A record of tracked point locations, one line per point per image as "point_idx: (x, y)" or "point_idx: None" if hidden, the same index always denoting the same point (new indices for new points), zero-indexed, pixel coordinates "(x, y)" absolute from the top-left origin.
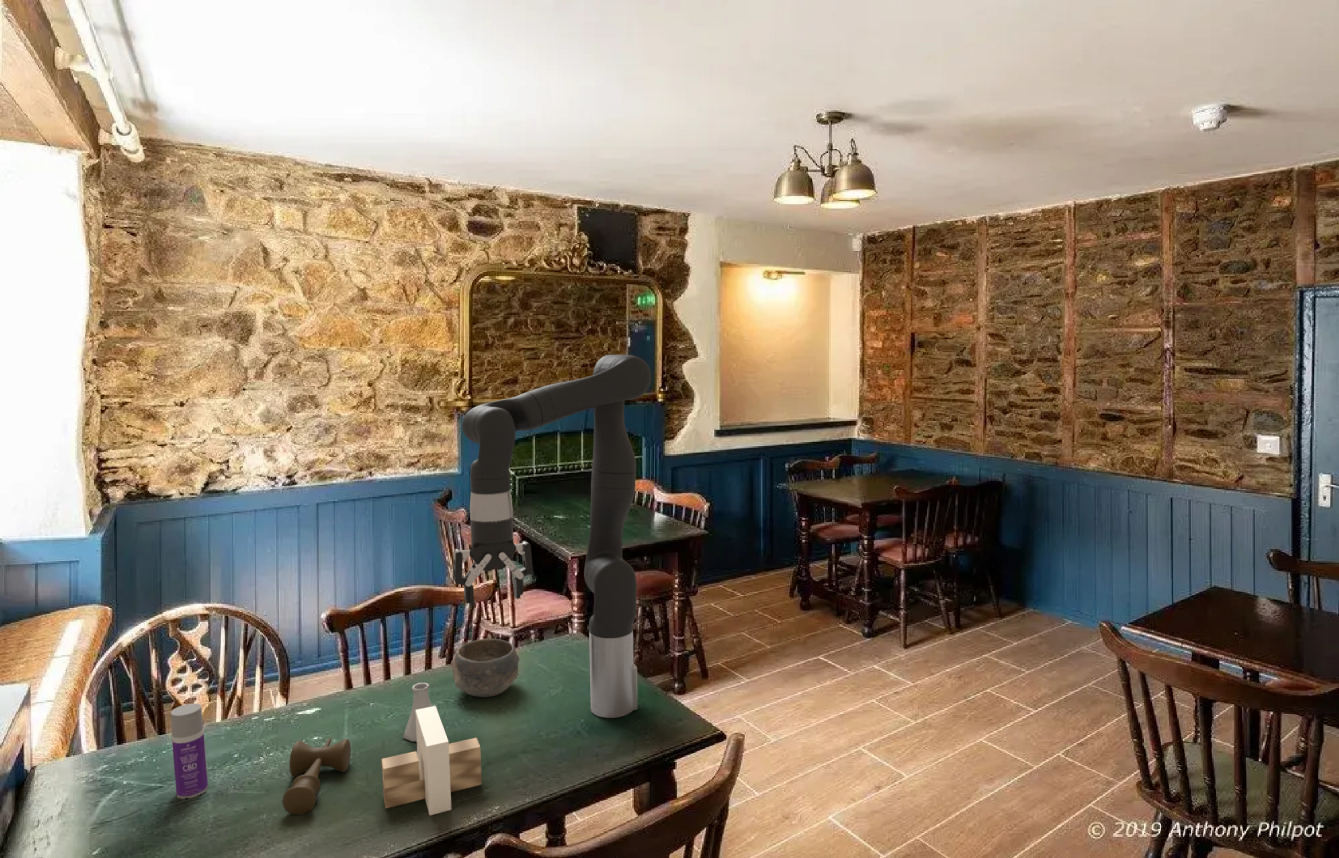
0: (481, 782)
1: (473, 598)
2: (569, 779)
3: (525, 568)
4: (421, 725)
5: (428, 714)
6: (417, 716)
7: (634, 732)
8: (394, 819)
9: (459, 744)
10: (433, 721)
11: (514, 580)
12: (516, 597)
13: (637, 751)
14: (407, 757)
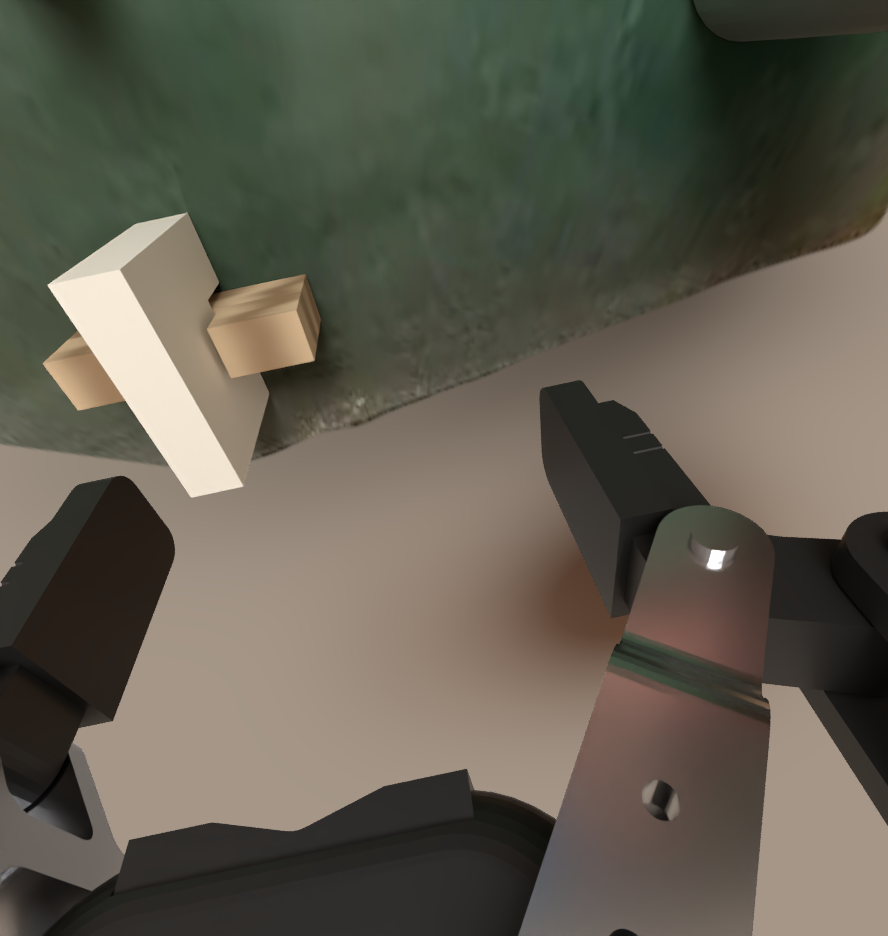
0: (320, 321)
1: (154, 599)
2: (509, 344)
3: (841, 672)
4: (128, 397)
5: (120, 332)
6: (83, 337)
7: (730, 165)
8: None
9: (253, 337)
10: (160, 383)
11: (603, 537)
12: (546, 468)
13: (684, 269)
14: None
